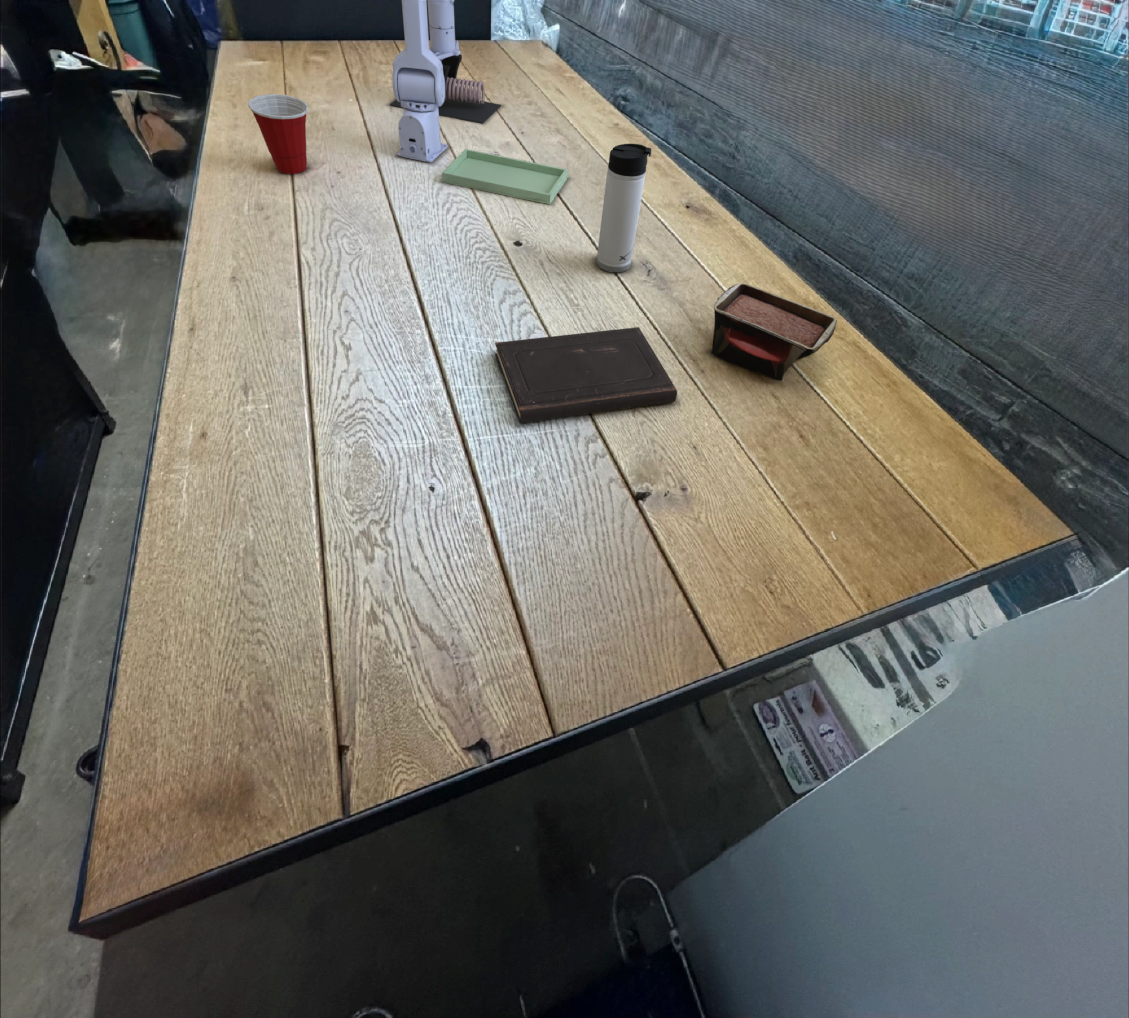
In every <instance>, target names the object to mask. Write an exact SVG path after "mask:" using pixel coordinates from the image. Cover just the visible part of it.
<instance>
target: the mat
mask: <svg viewBox="0 0 1129 1018" xmlns="http://www.w3.org/2000/svg"><path fill="white" fill-rule="evenodd" d="M389 106H390V107H396V108H401V109H404V107H401V102H398V101H397V99H396V98H395V99H394V100H393V101H392V102H390V103H389ZM501 106H502V104H499V103H495V102H489V101H484V104H482V103H481V100H480V103H477V99H476V103H473V100H472V102H469V100H468V101H467V102H465V100H464V101H461V100H459V101H457V100H453V99H451V100H449V99H448V98H447V99H444V103H443V104H442V105H441V106H439V107H438V110H439V116H440V117H447V118H452V119H457V120H462V121H467V122H472V123H476V124H481V125H483V124H484V123H486V121H487V120H488V119H490V117H492V115H493V114H494V113H495V112H496V111H498V109H500V108H501Z"/></svg>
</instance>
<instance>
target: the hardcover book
mask: <svg viewBox="0 0 1129 1018" xmlns="http://www.w3.org/2000/svg"><path fill="white" fill-rule="evenodd" d="M494 345H495V348H496V352H495V353H494V356H495V358H496V361H497V365H498V367H499V369H500V373H501V375H502V379H503V381H504V384H505V386H506V389H507V393H508V395H509V398H510V401H511V403H512V406H513V409H514V412H515V415H516V417H517V421H518V423H519V424H525V423H533V422H540V421H546V420H553V419H561V418H569V417H575V416H576V417H577V416H584V415H589V414H598V413H605V412H610V411H611V412H613V411H618V410H626V409H633V408H639V407H647V406H655V405H662V404H668V403H669V404H670V403H675V402H676V400H677V397H678V390H677V388H676V386H675V385H674V383H673V381H672V380H671V378H670V376H669V374H668V373H667V371H666V370H665V368H664V367H663V364H662V363H661V361H660V360H659V358H658V356H657V355H656V352H655V351H654V349H653V348H652V346H651V345H650V343H649V342H648V339H647V338H646V336H645V334H644V333H643V332H642V330H641V328H640V327H639V326H636V327H626V328H618V329H617V328H616V329H608V330H607V329H606V330H600V331H599V330H598V331H589V332H580V333H573V334H562V335H553V336H544V337H533V338H526V339H525V338H524V339H516V340H505V341H498V342H494Z"/></svg>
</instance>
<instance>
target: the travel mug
mask: <svg viewBox="0 0 1129 1018" xmlns="http://www.w3.org/2000/svg"><path fill="white" fill-rule="evenodd" d="M651 156H652V148H651V147H647V146H646V145H643V144H640V143H622V144H621V143H620V144H618V145H617V144H616V145H615V146H613V147H612V149H611V150H610V151H609V158H608V164H607V171H606V180H605V187H604V195H603V204H602V210H601V211H602V212H601V219H600V228H599V237H598V244H597V253H596V259H595V260H596V264H597V266H598V267H599V268H600V269H602V270H603V271H605V272H608V273H623V272H625V271H628V270H629V269H630V268H631V266H632V258H633V253H634V247H635V241H636V235H637V229H638V223H639V216H640V211H641V206H642V205H641V204H642V199H643V193H644V187H645V180H646V174H647V165H648V157H651Z"/></svg>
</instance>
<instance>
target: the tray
mask: <svg viewBox="0 0 1129 1018" xmlns="http://www.w3.org/2000/svg"><path fill="white" fill-rule="evenodd" d="M568 173H569V168H563V167H558V166H552V165H547V164H542V163H537V162H534V161H533V162H532V161H527V160H523V159H517V158H513V157H508V156H503V155H498V154H493V153H488V152H483V151H478V150H473V149H468V148H465V149H464V150H462V152H460V154H458V156H457V157H456V158H454V160H453V161H452V162H450V163H449V165H448V166H447V167H446V168H445V169H443V171H442V172H441V182H442V183H445V184H448V185H449V184H450V185H455V186H459V187H463V188H468V189H473V190H474V189H475V190H478V191H484V192H488V193H492V194H497V195H503V196H507V197H512V198H517V199H521V200H528V201H532V202H536V203H540V204H546V205H551V203H552V202H553V201H554V199H555V198H556V196H558V195H557V194H558V193H559V192H560V191H561V189H562V188H563V186H564V184H565V183H566V182H567V180H568V176H569V174H568Z"/></svg>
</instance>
